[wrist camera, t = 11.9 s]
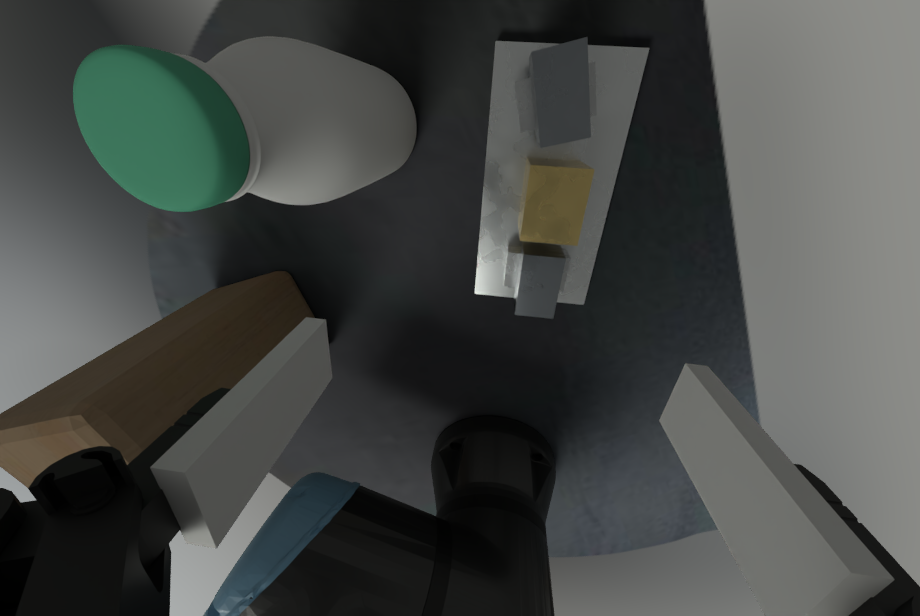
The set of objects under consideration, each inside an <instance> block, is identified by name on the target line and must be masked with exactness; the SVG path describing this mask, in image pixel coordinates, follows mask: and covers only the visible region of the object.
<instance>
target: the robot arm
mask: <svg viewBox="0 0 920 616" xmlns="http://www.w3.org/2000/svg"><path fill="white" fill-rule="evenodd" d="M331 379H332V369H331V360H330V351H329V342H328V333H327V324H326V319H317V318H309V317H306V318H305V319H304V320H303V321H302V322H301V323H300V324H299V325H298V326H297V327H295V328H294V329H293V330H292V331H291V332H290V333H289V334H288V335H287V336H286V337H285V338H284V339H283V340H282V341H281V342H280V343H279V344H278V345H277V346H276V347H275V348H274V349H273V350H272V351H271V352H269V353H268V354H267V355H266V356H265V357H264V358H263V359H262V360H261V361H260V362H259V363H258V364H257V365H256V366H255V367H254V368H253V369H252V370H251V371H250V372H249V373H248V374H247V375H246V376H245V377H244V378H242V379H241V380H240V381H239V382H238V383H237V384H236V385H235V386H234V387H233V388H232V389H228V388H219V389H218V390H216V391H214V392H212V393H210V394H208V395H207V396H205V397H203V398H201V399H200V400H199V401H198V402H197V403H196V404H195V405H194V406H193V407H191V408H190V409H189V410H188V411H187V413H186V415H185V414H184V415H182V416H181V417H180V418H179V419H178V420H177V421H176V422H175V423H174V425H173V426H170V427H169V428H168V429H167V430H166V431H165V432H164V433H162V434H161V435H160V436H159V437H158V438H157V439H156V440H155V441H153V442H152V443H151V444H150V445H149V446H148V447H147V448H146V449H145V450H143V451H142V452H141V453H140V454H139V455H138V456H137V457H136V458H135V459H133V460H132V461H131V462H130V463H129V464H128V465H127V464H126V462H125V460H124V458H123V456H122V454H121V452H120V451H119V450H117V449H116V448H114V447H112V446H97V447H92V448H87V449H83V450H80V451H78V452H75V453H73V454H70V455H67V456H65V457H64V458H62V459H60V460H58V461H57V462H55V463H53V464H51V465H50V466H48V467H47V468H46V469H45V470H44V471H42V472H41V473H40V474H39V475H38V476H36V478H35V479H34V480H33V482H32V483H31V485H30V486H29V488H28V489H29V490H30V492H31V493H32V494H33V496H34V497H35V498H36V501H29V502H23V503H20V502H19V500H18V499H17V498H16V496H15V495H14V494H13V492H12V491H9V490H6V489H4V488H0V616H169V609H170V574H171V550H170V547H169V542H170V541H171V540H172V539H173V537H174V536H175V535H176V534H177V532H178V531H179V530H180V531H181V533H182V535H183V537H184V539H185V541H186V543H187V544H192V545H198V546H204V547H210V548H217V547H218V546H219V544H220V543H221V541H222V540H223V538H224V537H225V535H226V534H227V532H228V531H229V530H230V528H231V527H232V525H233V524H234V522H235V521H236V519H237V518H238V516H239V515H240V513H241V512H242V510H243V509H244V507H245V506H246V505H247V503H248V501H249V500H250V499H251V497H252V496H253V494H254V493H255V491H256V490H257V488H258V487H259V485H260V484H261V482H262V481H263V479H264V478H265V477H266V475H267V473H268V472H269V471H270V469H271V468H272V466H273V465H274V463H275V462H276V460H277V459H278V457H279V456H280V454H281V453H282V452H283V450H284V449H285V447H286V446H287V444H288V443H289V441H290V440H291V438H292V437H293V435H294V434H295V432H296V431H297V429H298V428H299V426H300V425H301V424H302V422H303V421H304V419H305V418H306V416H307V415H308V413H309V412H310V410H311V409H312V407H313V406H314V404H315V403H316V401H317V400H318V398H319V397H320V396H321V394H322V393H323V391H324V390H325V388H326V387H327V385H328V384H329V382H330V381H331ZM659 422H660V423H661V425H662V427H663V429H664V431H665V433H666V434H667V436H668V438H669V440H670V442H671V444H672V445H673V447H674V449H675V451H676V453H677V455H678V456H679V458H680V460H681V462H682V464H683V466H684V467H685V469H686V471H687V473H688V475H689V477H690V479H691V480H692V482H693V484H694V486H695V488H696V490H697V491H698V493H699V495H700V497H701V499H702V501H703V502H704V504H705V506H706V508H707V510H708V512H709V513H710V515H711V517H712V519H713V521H714V523H715V524H716V526H717V528H718V530H719V532H720V534H721V535H722V537H723V539H724V541H725V543H726V545H727V547H728V548H729V550H730V552H731V554H732V556H733V557H734V559H735V561H736V563H737V565H738V567H739V569H740V570H741V572H742V574H743V576H744V578H745V580H746V581H747V583H748V585H749V587H750V589H751V591H752V592H753V594H754V596H755V598H756V600H757V602H758V603H759V605H760V607H761V609H762V611H763V612H764V615H765V616H920V587H919V585H917V583H916V582H915V581H914V580H913V579H912V578H911V577H910V576H909V575H908V574H907V572H906V571H905V570H904V569H903V568H902V567H901V566H900V565H899V564H898V563H897V561H896V560H895V559H894V558H893V557H892V556H891V555H890V554H889V553H888V552H887V551H886V549H885V548H884V547H883V546H882V545H881V544H880V543H879V542H878V541H877V540H876V539H875V537H874V536H873V535H872V534H871V533H870V532H869V531H868V530H867V529H866V528H865V527H864V525H862V523H858V521H857V518H856V517H855V516H854V515H853V513H852V512H851V511H850V510H849V509H848V508H847V507H846V506H843V505H842V501H841V500H840V499H839V498H838V497H837V496H836V495H835V494H834V493H833V492H832V491H831V490H830V489H829V487H828V486H827V485H826V484H825V483H824V482H823V481H821V480H820V479H819V478H817V477H816V476H815V475H814V474H812V473H811V472H809V471H808V470H807V469H806V468H804V467H803V466H802V465H797V464H793V463H792V462H791V461H790V459H788V457H787V456H786V455H785V454H784V453H783V451H782V450H781V449H780V448H779V447H778V446H777V445H776V444H775V443H774V441H773V440H772V439H771V438H770V437H769V435H768V434H767V433H766V432H765V431H764V430H763V429H762V427H761V426H760V425H759V424H758V423H757V422H756V421H755V419H754V418H753V417H752V416H751V415H750V414H749V413H748V412H747V410H746V409H745V408H744V407H743V406H742V405H741V404H740V402H739V401H738V400H737V399H736V398H735V397H734V396H733V394H732V393H731V392H730V391H729V390H728V389H727V388H726V386H725V385H724V384H723V383H722V382H721V381H720V380H719V378H718V377H717V376H716V375H715V374H714V373H713V372H712V370H711V369H710V368H709V367H708V366H704V365H695V364H687V363H685V365H684V367H683V369H682V372H681V374H680V376H679V378H678V380H677V383H676V385H675V387H674V389H673V391H672V394H671V396H670V398H669V400H668V402H667V404H666V407H665V409H664V411H663V413H662V415H661V418H660V420H659ZM431 472H432V479H433V487H434V494H435V501H436V509H437V514H436V516H434V515H432V514H429V513H427V512H424V511H422V510H419V509H417V508H414V507H412V506H410V505H407V504H405V503H402V502H400V501H397V500H395V499H392V498H390V497H387V496H385V495H382V494H380V493H377V492H375V491H373V490H370V489H368V488H365V487H363V486H360V483H357V482H353V483H351V482H349V481H346V480H343V479H340V478H337V477H334V476H331V475H328V474H325V473H320V472H316V473H311V474H308V475H306V476H304V477H303V478H301V479H300V480H299V481H298V482H297V483H296V484H295V485H294V486H293V487H292V488H291V489H290V490H289V491H288V493H287V494H286V495H285V496H284V498H283V499H282V500H281V502H280V503H279V504H278V506H277V507H276V508H275V510H274V511H273V512H272V514H271V515H270V516H269V518H268V519H267V520H266V522H265V523H264V524H263V526H262V527H261V529H260V530H259V531H258V533H257V534H256V536H255V537H254V538H253V540H252V541H251V543H250V544H249V546H248V547H247V548H246V550H245V551H244V553H243V554H242V556H241V557H240V559H239V560H238V561H237V563H236V564H235V566H234V567H233V569H232V571H231V572H230V573H229V575H228V577H227V578H226V579H225V581H224V583H223V584H222V586H221V587H220V589H219V590H218V592H217V594H216V595H215V598H214V600H213V601H212V603H211V605H210V607H209V608H208V610H207V611H206V612H205V614H204V616H554V607H553V597H552V588H551V578H550V567H549V556H548V546H547V537H546V526H545V523H546V518H547V514H548V510H549V505H550V501H551V497H552V493H553V488H554V484H555V477H556V471H555V464H554V456H553V452H552V449H551V447H550V446H549V444H548V442H547V441H546V440H545V439H544V437H543V436H542V435H540V434H539V433H538V432H537V431H535V430H534V429H532V428H531V427H529V426H527V425H525V424H523V423H521V422H518V421H515V420H512V419H508V418H503V417H496V416H480V417H473V418H468V419H464V420H461V421H459V422H457V423H455V424H453V425H451V426H450V427H448V428H447V429H446V430H444V431H443V432H442V433H441V435H440V436H439V437H438V439H437V441H436V443H435V447H434V451H433V456H432V461H431Z"/></svg>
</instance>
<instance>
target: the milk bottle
mask: <svg viewBox="0 0 920 616" xmlns="http://www.w3.org/2000/svg"><path fill="white" fill-rule="evenodd" d="M73 102H74V109H75V113H76V118H77V121H78V124H79V127H80V129H81V132H82V135H83V137H84V139H85V141H86V143H87V145H88V147H89V148H90V150H91V152H92V153H93V155H94V156H95V158H96V159H97V161H98V162H99V163H100V165H101V166H102V167H103V168H104V169H105V171H106V172H107V173H108V174H109V175H110V176H111V177H112V178H113V179H114V180H115V181H116V182H117V183H118V184H119V185H120V186H121V187H122V188H124V189H125V190H126V191H128V192H129V193H130V194H132V195H133V196H135V197H136V198H138V199H140V200H141V201H143V202H145V203H147V204H149V205H152V206H154V207H157V208H160V209H164V210H168V211H178V212H190V211H196V210H201V209H205V208H209V207H212V206H215V205H218V204H220V203H223V202H227V201H232V200H235V199H237V198H239V197H241V196H243V195H244V194H245V193H246V192H249V193H252V194H254V195H257V196H259V197H262V198H265V199H268V200H271V201H274V202H278V203H283V204H290V205H313V204H319V203H324V202H328V201H331V200H334V199H337V198H340V197H342V196H345V195H347V194H349V193H352V192H354V191H356V190H358V189H360V188H363V187H365V186H367V185H369V184H371V183H373V182H375V181H377V180H379V179H381V178H383V177H385V176H387V175H389V174H391V173H393V172H394V171H396V170H397V169H399V168H400V167H401V166H402V165H403V164H404V163H405V162H406V161H407V159H408V158H409V156H410V154H411V152H412V150H413V147H414V144H415V140H416V133H417V124H416V116H415V112H414V108H413V105H412V103H411V100H410V98H409V96H408V94H407V93H406V91H405V90H404V88H403V87H402V86H401V85H400V83H399V82H398V81H397V80H396V79H395V78H393V77H392V76H391V75H389V74H388V73H386V72H385V71H383V70H381V69H379V68H377V67H375V66H372V65H369V64H367V63H364V62H362V61H359V60H356V59H354V58H351V57H348V56H346V55H343V54H340V53H337V52H334V51H332V50H329V49H326V48H323V47H320V46H317V45H314V44H311V43H307V42H303V41H300V40H296V39H291V38H284V37H272V36H268V37H257V38H251V39H247V40H243V41H240V42H238V43H235V44H233V45H231V46H229V47H227V48H226V49H224V50H223V51H221V52H220V53H218V54H217V55H216V56H215V57H213V58H212V59H211V60H210V61H208V62H207V63H204V62H202V61H200V60H198V59H196V58H193V57H190V56H187V55H182V54H175V53H169V52H165V51H161V50H157V49H152V48H147V47H140V46H133V45H114V46H109V47H103V48H100V49H97V50H96V51H94V52H92V53H90V54H89V55H88V56H87V57H86V58H85V59H84V60H83V61H82V63H81V64H80V66H79V68H78V70H77V72H76V75H75V79H74V85H73Z"/></svg>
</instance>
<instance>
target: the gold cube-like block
mask: <svg viewBox="0 0 920 616" xmlns="http://www.w3.org/2000/svg"><path fill="white" fill-rule="evenodd" d="M594 170H595V169H593V168H591V167H590V166H588V165H586V164H585V163H583V162H581V161H576V160H562V159H548V158H534V157H527V158H526V166H525V173H524V180H523V188H522V195H521V202H520V210H519V217H518V229H519V238H520V241H528V242H540V243H551V244H562V245H573V246H578V241H579V237H580V232H581V228H582V223H583V219H584V214H585V210H586V206H587V201H588V197H589V192H590V188H591V183H592V179H593V175H594Z"/></svg>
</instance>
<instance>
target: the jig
mask: <svg viewBox="0 0 920 616" xmlns="http://www.w3.org/2000/svg"><path fill="white" fill-rule="evenodd" d="M648 52H649V48H640V47H619V46H597V45H588V37H585V38H581V39H577V40H574V41H570V42H566V43H562V44H554V43H532V42H510V41H496V43H495V55H494V67H493V79H492V91H491V103H490V115H489V127H488V139H487V151H486V163H485V175H484V187H483V199H482V211H481V223H480V235H479V247H478V258H477V270H476V282H475V294H481V295H491V296H501V297H511V298H514V312H515V315H521V316H530V317H540V318H549V319H553V318H554V313H555V308H556V303H557V302H560V303H570V304H580V305H584V302H585V298H586V294H587V290H588V286H589V283H590V279H591V275H592V271H593V267H594V263H595V259H596V255H597V251H598V247H599V244H600V240H601V236H602V232H603V228H604V224H605V220H606V216H607V212H608V208H609V204H610V201H611V197H612V193H613V189H614V185H615V181H616V177H617V173H618V169H619V165H620V162H621V158H622V154H623V150H624V146H625V142H626V138H627V134H628V130H629V126H630V122H631V119H632V115H633V111H634V107H635V103H636V99H637V95H638V91H639V87H640V83H641V80H642V76H643V72H644V68H645V64H646V60H647V56H648ZM527 157H534V158H548V159H562V160H576V161H581V162H583V163H585V164H586V165H588V166H590V167H591V168H593V169H595V170H594V175H593V179H592V183H591V188H590V192H589V197H588V201H587V206H586V210H585V214H584V219H583V223H582V228H581V232H580V237H579V241H578V246H573V245H562V244H551V243H540V242H528V241H520V238H519V229H518V217H519V210H520V202H521V195H522V188H523V180H524V173H525V166H526V158H527Z"/></svg>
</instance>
